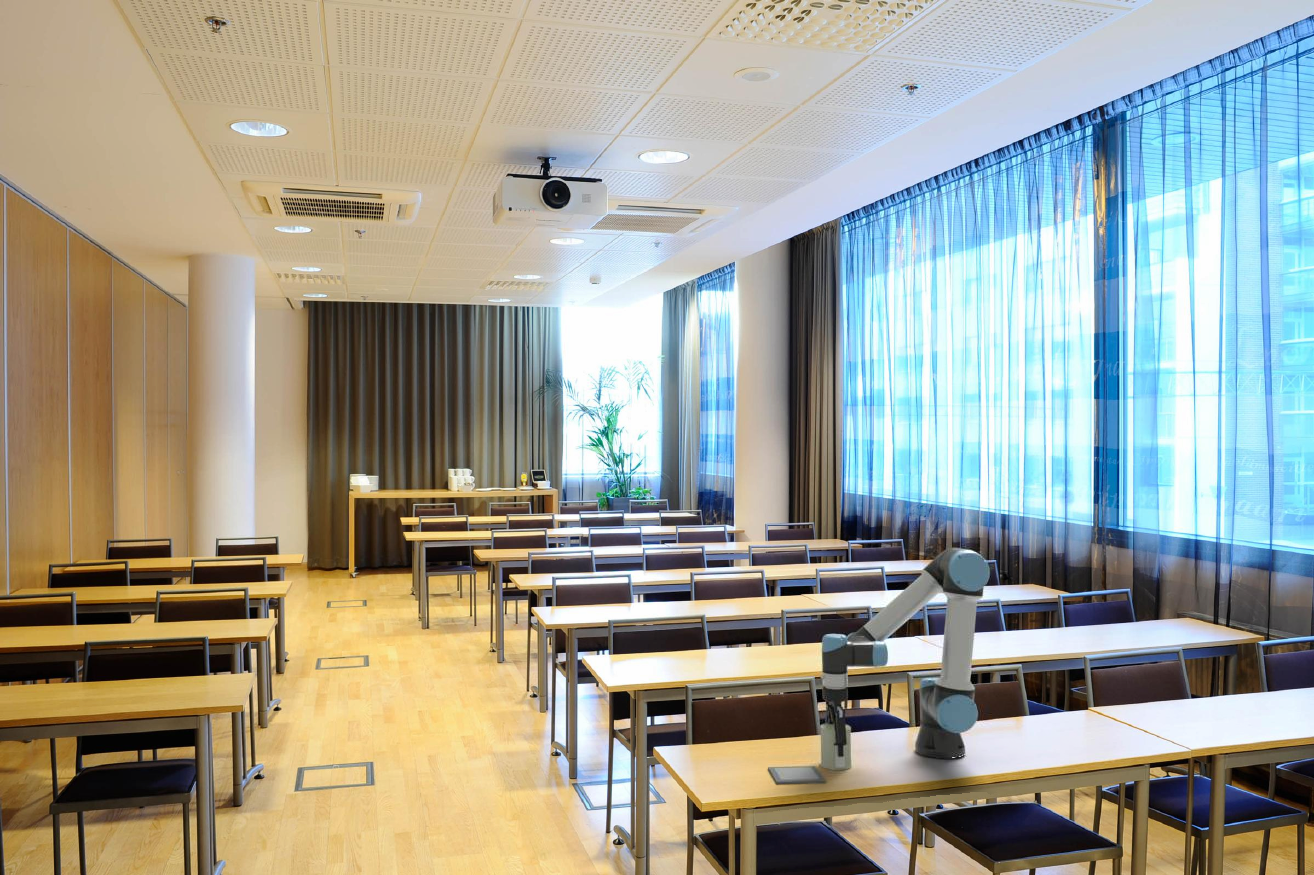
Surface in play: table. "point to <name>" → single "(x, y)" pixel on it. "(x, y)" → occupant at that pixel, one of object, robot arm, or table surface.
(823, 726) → the can
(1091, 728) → the table surface
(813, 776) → the coaster
